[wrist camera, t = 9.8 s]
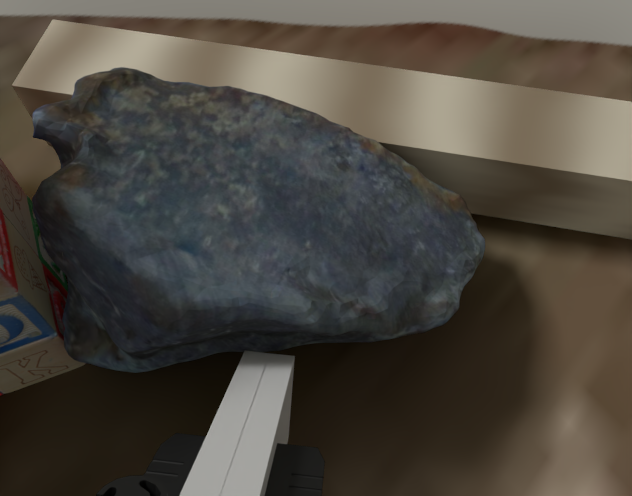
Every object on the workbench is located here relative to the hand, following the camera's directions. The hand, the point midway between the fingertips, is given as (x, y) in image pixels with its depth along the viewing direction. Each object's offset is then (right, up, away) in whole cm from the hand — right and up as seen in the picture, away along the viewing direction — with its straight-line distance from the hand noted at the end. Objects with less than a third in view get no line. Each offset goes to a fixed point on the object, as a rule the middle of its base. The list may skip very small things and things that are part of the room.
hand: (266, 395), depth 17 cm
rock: (0, +3, +6) cm, 7 cm away
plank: (+3, +8, +9) cm, 13 cm away
